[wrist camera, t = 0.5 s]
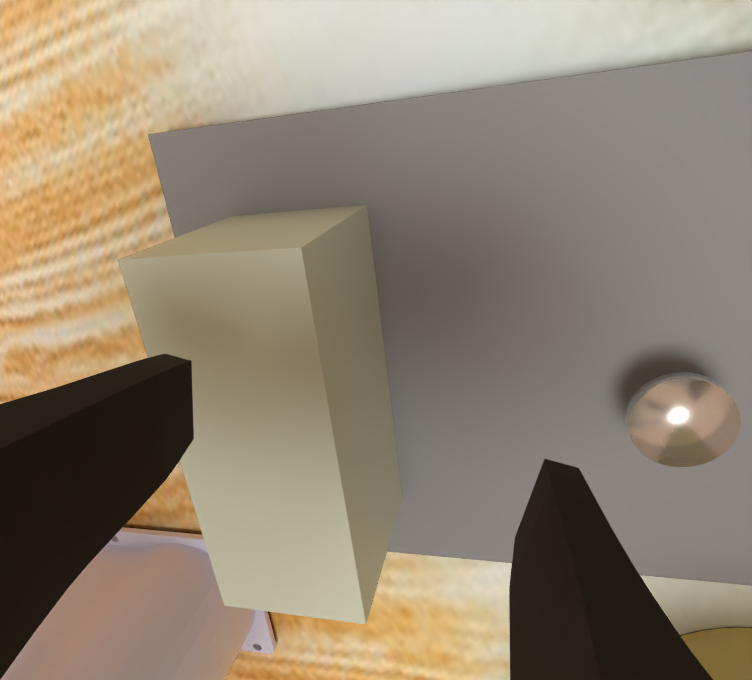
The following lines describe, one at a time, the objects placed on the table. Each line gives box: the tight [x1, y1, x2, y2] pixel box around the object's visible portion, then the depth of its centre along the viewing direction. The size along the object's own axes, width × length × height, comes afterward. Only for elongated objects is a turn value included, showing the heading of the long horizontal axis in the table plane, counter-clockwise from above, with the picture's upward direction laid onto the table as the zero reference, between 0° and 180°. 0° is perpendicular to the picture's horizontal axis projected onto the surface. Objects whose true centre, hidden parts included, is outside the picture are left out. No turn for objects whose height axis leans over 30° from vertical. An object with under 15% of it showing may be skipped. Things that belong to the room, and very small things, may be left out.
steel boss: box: [625, 372, 741, 467], centre depth 17 cm, size 3×3×2 cm
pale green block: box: [118, 205, 402, 624], centre depth 18 cm, size 5×12×6 cm, turn 8°
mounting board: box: [148, 51, 752, 585], centre depth 19 cm, size 22×18×1 cm
